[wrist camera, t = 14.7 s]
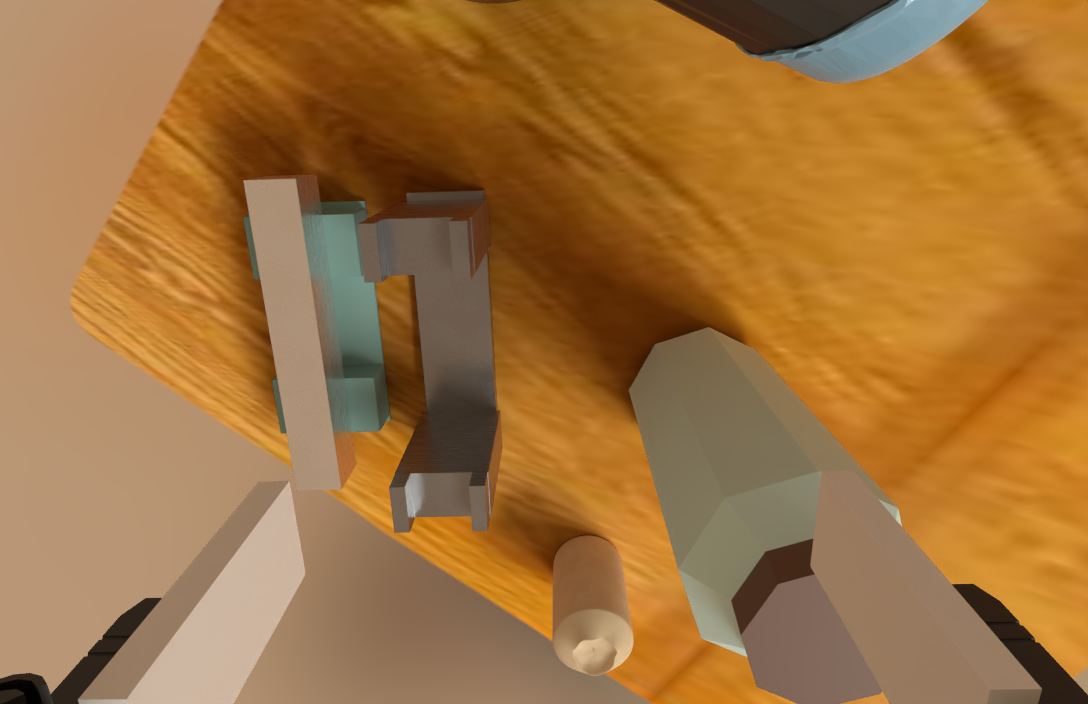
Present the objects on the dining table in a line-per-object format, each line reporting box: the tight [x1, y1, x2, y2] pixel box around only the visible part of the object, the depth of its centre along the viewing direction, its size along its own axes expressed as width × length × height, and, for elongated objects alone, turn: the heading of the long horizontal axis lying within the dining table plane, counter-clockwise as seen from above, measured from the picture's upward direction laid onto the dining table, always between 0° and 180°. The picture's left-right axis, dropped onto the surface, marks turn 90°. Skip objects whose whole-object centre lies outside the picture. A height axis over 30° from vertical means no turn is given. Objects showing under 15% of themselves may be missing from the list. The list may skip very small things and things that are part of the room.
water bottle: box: [629, 327, 902, 704], centre depth 36 cm, size 10×10×25 cm
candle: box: [553, 535, 633, 676], centre depth 49 cm, size 6×6×10 cm
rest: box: [243, 201, 391, 433], centre depth 46 cm, size 16×7×3 cm, turn 2°
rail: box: [243, 174, 356, 490], centre depth 42 cm, size 20×3×4 cm, turn 2°
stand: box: [357, 189, 502, 533], centre depth 42 cm, size 19×6×12 cm, turn 2°
